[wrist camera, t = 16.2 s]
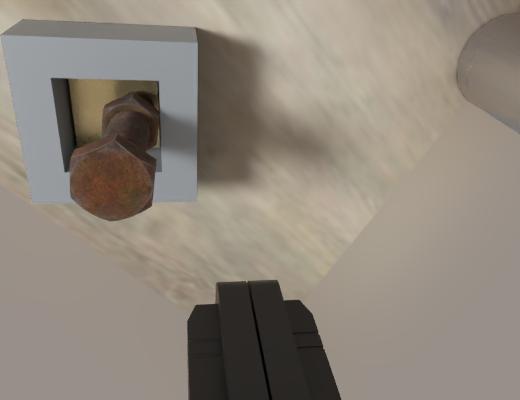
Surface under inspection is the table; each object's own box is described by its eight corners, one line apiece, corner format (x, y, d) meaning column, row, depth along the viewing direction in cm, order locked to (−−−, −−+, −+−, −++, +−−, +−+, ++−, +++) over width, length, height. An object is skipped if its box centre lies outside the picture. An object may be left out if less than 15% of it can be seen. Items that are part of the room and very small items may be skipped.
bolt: (180, 105, 43) (174, 182, 30) (148, 146, 45) (129, 235, 32) (124, 64, 41) (92, 128, 28) (92, 108, 43) (47, 188, 30)
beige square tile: (157, 64, 43) (156, 68, 42) (160, 141, 46) (159, 147, 45) (70, 61, 42) (66, 66, 40) (79, 140, 45) (77, 147, 44)
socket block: (195, 27, 42) (197, 42, 37) (194, 171, 49) (196, 201, 44) (22, 19, 39) (0, 35, 34) (47, 171, 46) (32, 203, 41)
